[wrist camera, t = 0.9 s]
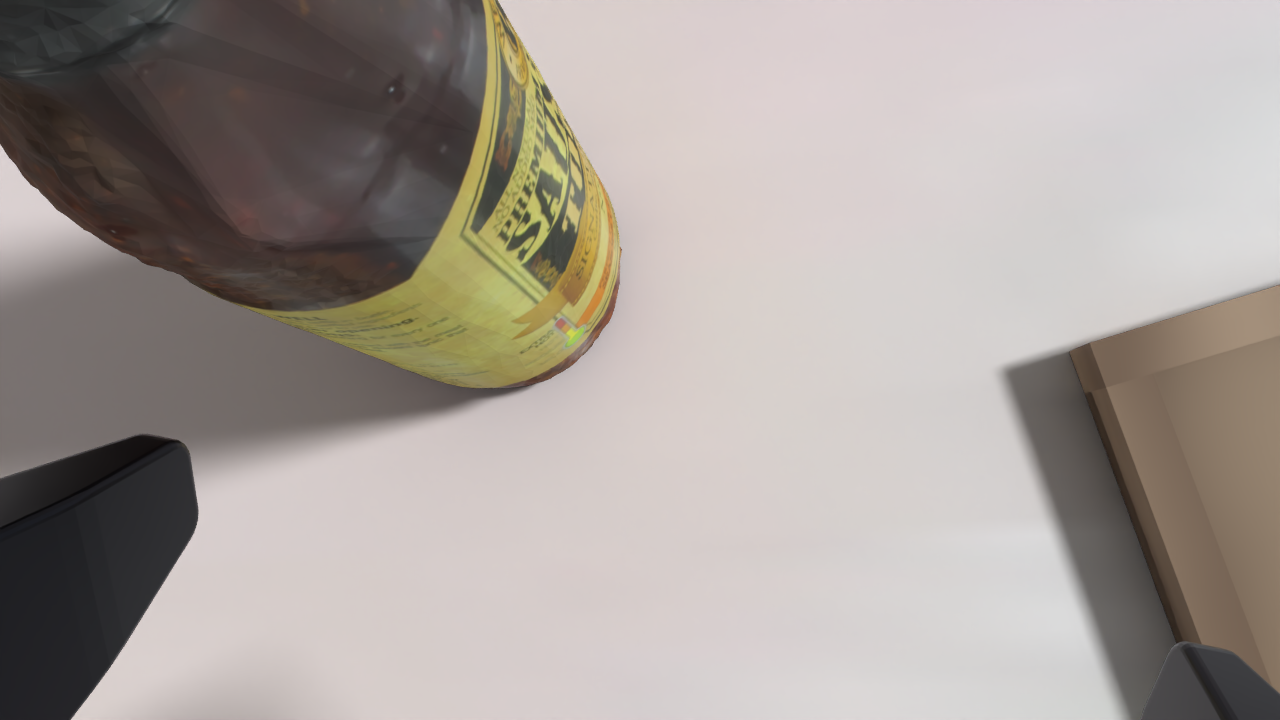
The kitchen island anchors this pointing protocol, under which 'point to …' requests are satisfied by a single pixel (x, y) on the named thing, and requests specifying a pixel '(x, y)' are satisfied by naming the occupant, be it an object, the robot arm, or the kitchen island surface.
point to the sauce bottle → (326, 169)
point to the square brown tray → (1201, 465)
